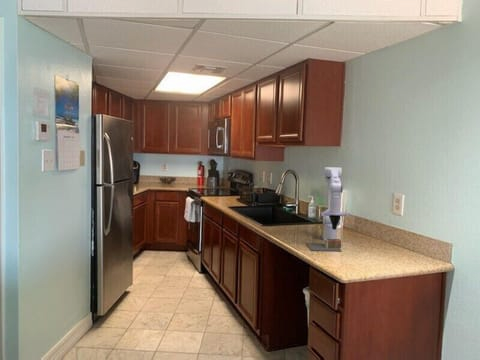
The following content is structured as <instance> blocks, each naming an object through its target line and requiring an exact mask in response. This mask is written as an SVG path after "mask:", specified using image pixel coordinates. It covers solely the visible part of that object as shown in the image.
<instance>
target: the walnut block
mask: <svg viewBox="0 0 480 360" xmlns="http://www.w3.org/2000/svg"><path fill="white" fill-rule="evenodd" d="M324 244H325V245H324V246H325V247H326V248H339V249H341V248H342V240H341V239H340V238H337V239H325V241H324Z"/></svg>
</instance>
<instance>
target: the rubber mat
mask: <svg viewBox="0 0 480 360" xmlns="http://www.w3.org/2000/svg"><path fill="white" fill-rule="evenodd" d="M305 245H306V247H308V248H309V250H310V251H311V252H335V253H336V252H337V253H338V252H342V250H341V248H326V247H325V246H324V245H325V243H319V242H318V243H313V242H309V243H307V242H306V243H305Z"/></svg>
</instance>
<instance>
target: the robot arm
mask: <svg viewBox="0 0 480 360" xmlns="http://www.w3.org/2000/svg"><path fill="white" fill-rule="evenodd" d="M342 169H343V168H342V167H334V166H333V167H332V166H331V167H330V166H325V167H324V174H323V175H324V179H323V180H324V182H326V183H327V186H328V187H327V189H328V192H327V194H328V196H327V197H328V198H327V209H326V210H324V211H321V214H320V216H321V217H322V224H323V225H324V227H323V234H322V235H323V236H322V237H321V239H322V240H323V241H324V242H325V239H338V227H339V226H340V225H341V217H349V216H350V215H349V212H342V211H341V210H342V209H341V208H342V207H341V206H342V194H343V190H344V185H343V182H341V179H342V173H343V170H342Z"/></svg>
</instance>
